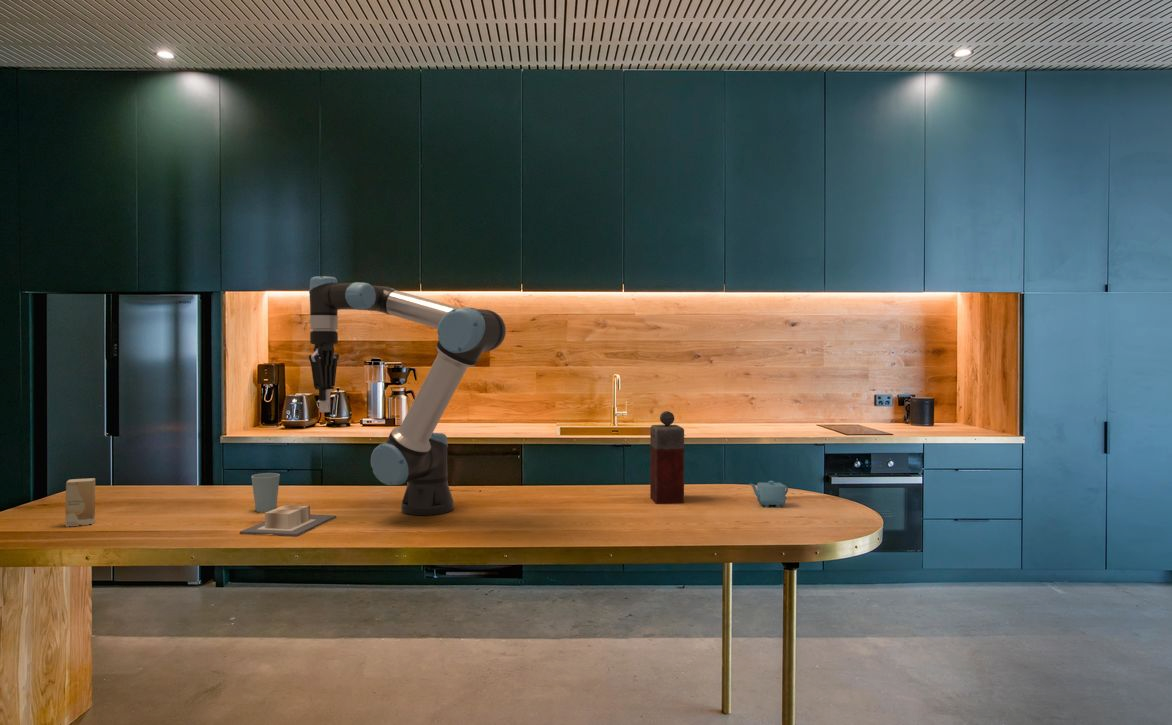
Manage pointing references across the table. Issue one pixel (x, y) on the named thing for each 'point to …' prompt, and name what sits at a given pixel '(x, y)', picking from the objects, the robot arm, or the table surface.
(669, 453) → the pepper mill
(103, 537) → the table surface
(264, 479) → the cup
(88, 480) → the skincare box
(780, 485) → the teapot
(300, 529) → the mat
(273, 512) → the block
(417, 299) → the robot arm
